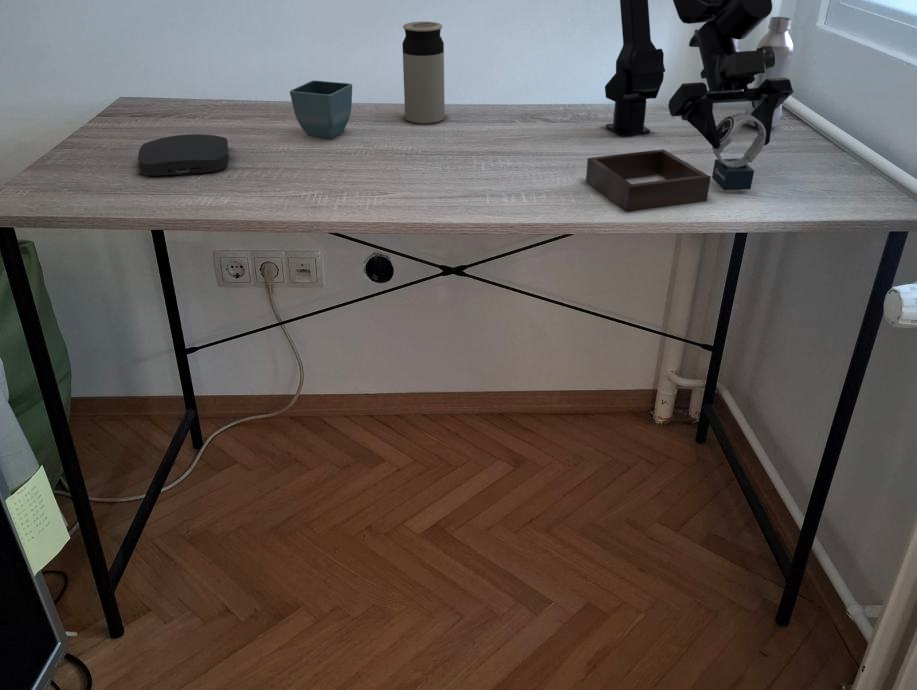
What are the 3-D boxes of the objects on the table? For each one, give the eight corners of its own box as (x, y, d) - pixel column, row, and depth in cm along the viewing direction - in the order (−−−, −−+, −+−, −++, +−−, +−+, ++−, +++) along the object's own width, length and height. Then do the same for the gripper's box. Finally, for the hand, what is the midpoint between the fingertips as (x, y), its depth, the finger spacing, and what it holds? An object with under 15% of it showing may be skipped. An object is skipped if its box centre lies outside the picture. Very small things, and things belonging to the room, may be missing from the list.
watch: (700, 178, 136) (711, 111, 130) (747, 176, 136) (761, 110, 131) (712, 190, 131) (724, 121, 125) (761, 189, 132) (775, 120, 126)
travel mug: (452, 117, 168) (451, 23, 159) (430, 127, 163) (428, 30, 153) (419, 111, 172) (417, 19, 163) (397, 120, 166) (393, 26, 157)
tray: (585, 181, 136) (587, 157, 134) (660, 172, 140) (663, 149, 138) (626, 212, 125) (629, 186, 123) (706, 201, 129) (710, 176, 127)
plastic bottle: (780, 132, 159) (803, 22, 149) (744, 130, 160) (763, 21, 150) (776, 122, 165) (797, 15, 154) (741, 120, 166) (760, 14, 155)
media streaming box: (147, 151, 150) (143, 135, 148) (230, 146, 152) (227, 130, 151) (137, 179, 138) (133, 161, 136) (228, 173, 140) (225, 155, 139)
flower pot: (293, 138, 156) (287, 90, 152) (317, 125, 163) (312, 79, 159) (334, 144, 154) (330, 95, 149) (356, 130, 161) (353, 83, 156)
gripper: (687, 28, 123) (709, 124, 120) (800, 23, 126) (825, 116, 123) (658, 70, 134) (678, 159, 130) (763, 64, 137) (785, 151, 134)
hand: (742, 146), depth 129 cm, fingers closed on watch, 8 cm apart
